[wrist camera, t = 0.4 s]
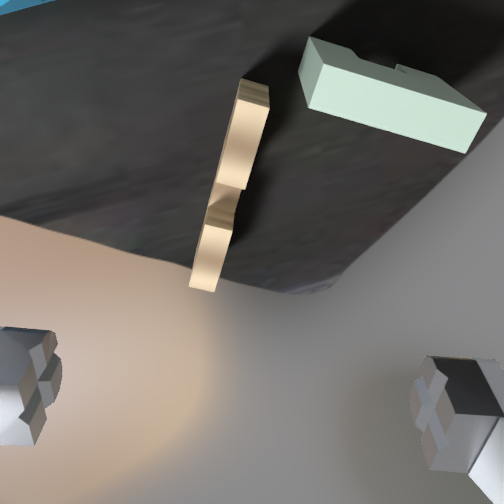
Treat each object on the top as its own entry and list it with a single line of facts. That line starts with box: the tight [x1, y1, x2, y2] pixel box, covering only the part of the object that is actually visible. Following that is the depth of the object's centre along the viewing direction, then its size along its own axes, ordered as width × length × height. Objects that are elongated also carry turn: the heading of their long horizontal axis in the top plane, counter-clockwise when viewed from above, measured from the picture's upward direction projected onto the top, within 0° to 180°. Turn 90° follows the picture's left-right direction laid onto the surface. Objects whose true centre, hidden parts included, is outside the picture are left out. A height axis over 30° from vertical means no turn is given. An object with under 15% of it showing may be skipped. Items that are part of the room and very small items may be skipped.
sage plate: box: [298, 36, 487, 153], centre depth 44 cm, size 4×14×13 cm, turn 74°
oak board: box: [189, 78, 270, 292], centre depth 52 cm, size 22×3×8 cm, turn 164°
